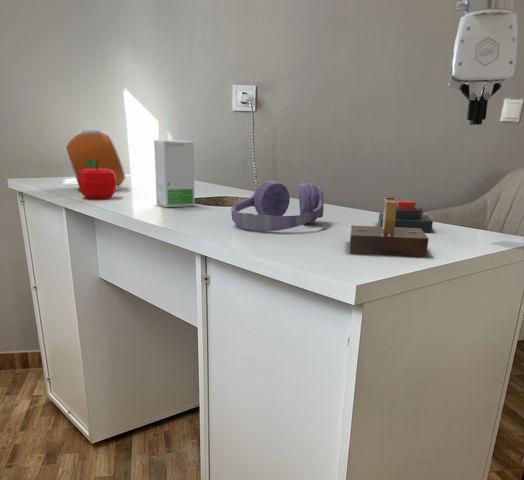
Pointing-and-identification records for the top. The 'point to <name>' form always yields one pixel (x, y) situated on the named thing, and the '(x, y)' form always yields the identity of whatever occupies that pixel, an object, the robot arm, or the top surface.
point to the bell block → (410, 219)
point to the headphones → (278, 207)
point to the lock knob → (389, 215)
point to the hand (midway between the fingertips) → (475, 124)
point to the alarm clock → (94, 153)
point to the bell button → (406, 205)
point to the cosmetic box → (174, 173)
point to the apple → (96, 181)
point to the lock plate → (388, 241)
